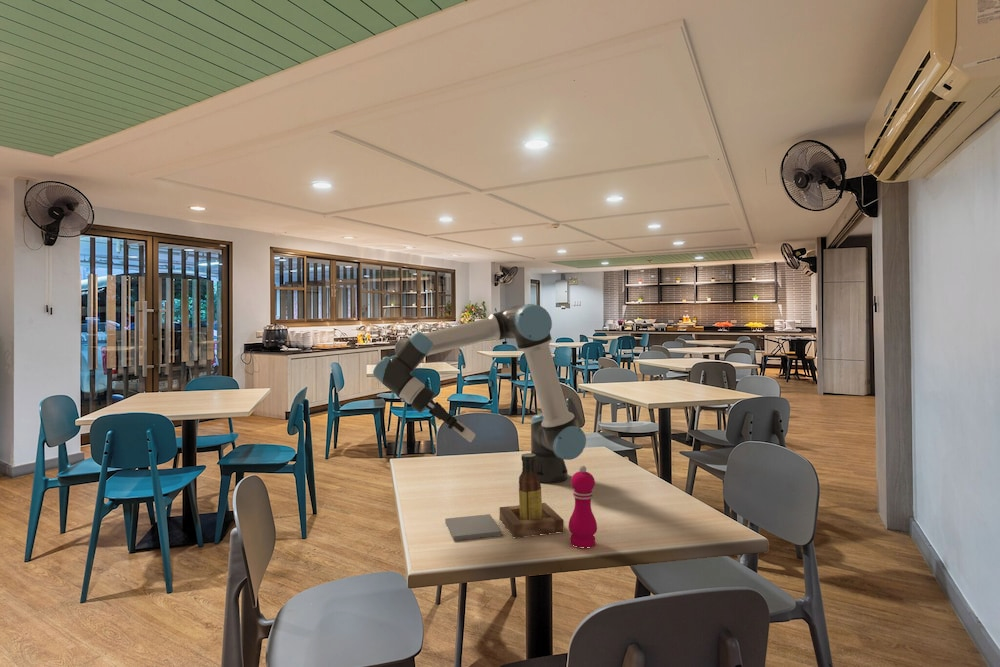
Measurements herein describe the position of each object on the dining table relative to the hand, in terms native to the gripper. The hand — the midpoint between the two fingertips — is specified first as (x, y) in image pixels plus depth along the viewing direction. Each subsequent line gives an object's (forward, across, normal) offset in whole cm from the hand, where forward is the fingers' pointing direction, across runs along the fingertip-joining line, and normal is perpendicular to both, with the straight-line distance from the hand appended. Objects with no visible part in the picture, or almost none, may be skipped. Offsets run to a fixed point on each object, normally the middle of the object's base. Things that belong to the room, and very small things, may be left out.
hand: (473, 438), depth 158 cm
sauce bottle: (+28, +7, -9) cm, 30 cm away
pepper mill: (+39, +19, -4) cm, 44 cm away
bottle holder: (+28, +7, -9) cm, 30 cm away
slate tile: (+15, +8, -19) cm, 26 cm away
